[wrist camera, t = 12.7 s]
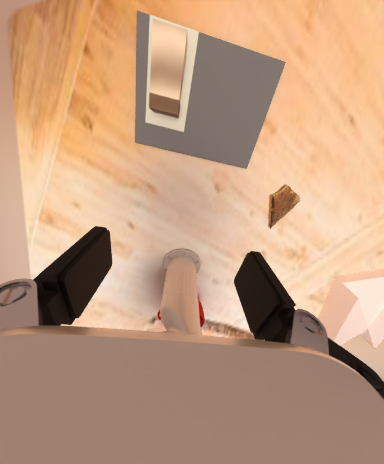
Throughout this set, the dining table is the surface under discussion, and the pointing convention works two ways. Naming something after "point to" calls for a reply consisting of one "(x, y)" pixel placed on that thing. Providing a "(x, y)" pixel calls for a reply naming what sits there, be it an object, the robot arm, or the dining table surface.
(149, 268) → the dining table surface
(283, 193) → the shard
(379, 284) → the hipped roof block
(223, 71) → the mat
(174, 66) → the tan tapered block
